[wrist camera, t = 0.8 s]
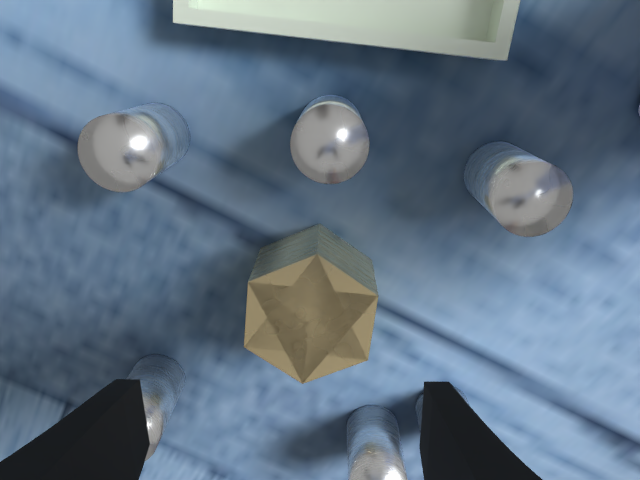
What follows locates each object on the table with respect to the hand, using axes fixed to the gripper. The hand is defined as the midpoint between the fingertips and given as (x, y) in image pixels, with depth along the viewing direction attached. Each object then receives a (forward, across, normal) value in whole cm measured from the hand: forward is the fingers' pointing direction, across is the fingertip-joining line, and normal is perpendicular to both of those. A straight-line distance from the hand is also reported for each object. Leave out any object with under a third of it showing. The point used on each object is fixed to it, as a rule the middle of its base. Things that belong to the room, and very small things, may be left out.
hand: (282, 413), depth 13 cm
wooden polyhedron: (+9, 0, 0) cm, 9 cm away
